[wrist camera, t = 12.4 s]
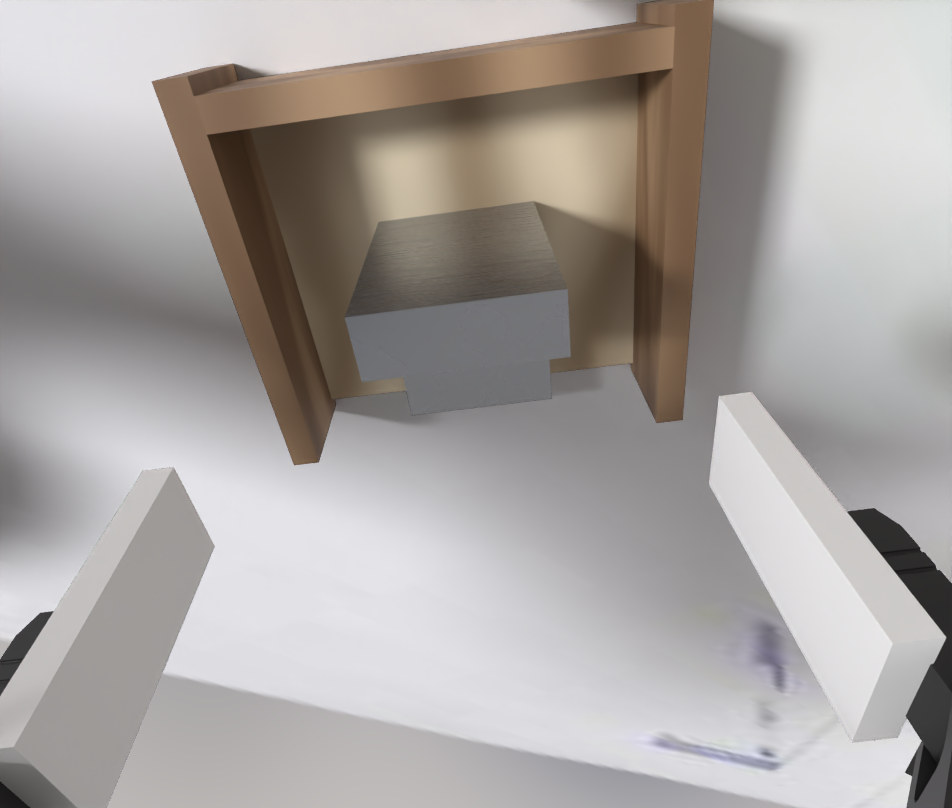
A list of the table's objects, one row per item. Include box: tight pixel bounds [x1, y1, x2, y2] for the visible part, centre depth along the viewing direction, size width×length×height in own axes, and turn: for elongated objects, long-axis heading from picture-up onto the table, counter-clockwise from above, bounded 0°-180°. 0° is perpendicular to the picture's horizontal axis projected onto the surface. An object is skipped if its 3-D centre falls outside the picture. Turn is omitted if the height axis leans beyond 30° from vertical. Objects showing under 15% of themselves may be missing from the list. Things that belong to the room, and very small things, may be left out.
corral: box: [152, 0, 714, 465], centre depth 26 cm, size 18×16×5 cm
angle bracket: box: [345, 201, 571, 415], centre depth 26 cm, size 9×7×10 cm
